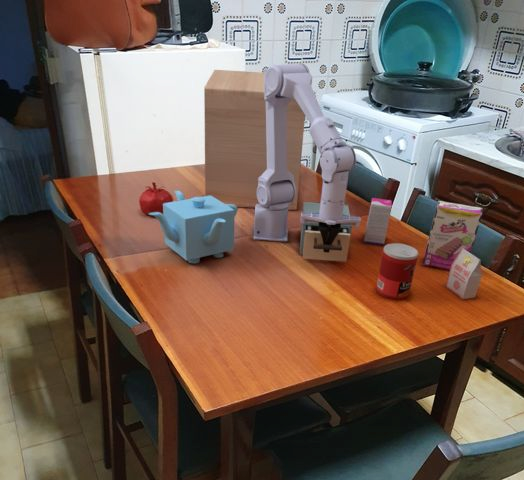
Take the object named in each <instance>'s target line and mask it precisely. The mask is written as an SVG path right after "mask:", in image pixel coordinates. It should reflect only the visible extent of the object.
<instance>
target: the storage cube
mask: <svg viewBox="0 0 524 480" xmlns="http://www.w3.org/2000/svg"><path fill="white" fill-rule="evenodd" d="M264 74H265V72H259V71H243V70H226V69H214V70H213V71H212V73H211V75H210V77H209V78H208V79H207V82H206V83H205V85H204V91H203V92H204V93H203V94H204V95H203V97H204V100H203V101H204V105H203V106H204V196H210V195H211V196H212V197H214V198H216V199H217V200H219V201H221V202H222V203H224V204H233V205H235V206H236V207H237V208H251V209H255V206H256V204H260V203H259V202H258V199H257V188H258V178H259V177H260V176H261V175H262V174H263V173H264V172H265V171H266V170H267V144H266V101H265V99H264ZM305 120H306V116H305V114H304V112H303V111H302V109H301V108H300V106H299V104H298V103H297V101H296V100H295V99H292V100H291V101H290V102H289V104H288V105H287V170H288V171H289V172H290V173H291V174H292V175H293V176H294V184H295V187H296V197H295V199H294V201H292V202H291V206H289V207H288V211H297V208H298V196H299V187H300V177H301V176H300V175H301V166H302V155H303V144H304V133H305V131H304V130H305V123H306V122H305Z"/></svg>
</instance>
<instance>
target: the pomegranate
mask: <svg viewBox="0 0 524 480" xmlns="http://www.w3.org/2000/svg"><path fill="white" fill-rule="evenodd" d="M151 184H152V187H151V186H147V185H146V186H145V188H146V189H145V190H144V191H143V192H142V193H141V195H140V196H139V199H138V203H139V207H140V211H141V212H142V213H143V214H144V215H147V216H150V215H149V213H152V212H160V213H162V214H163V204H164V203H169V202H174V197H173V196H172V194H171V192H169V191H168V190H166V189H164V188H163V186H160V187H158V185H157V184H156V182H155V181H151ZM157 187H158V188H157Z"/></svg>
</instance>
